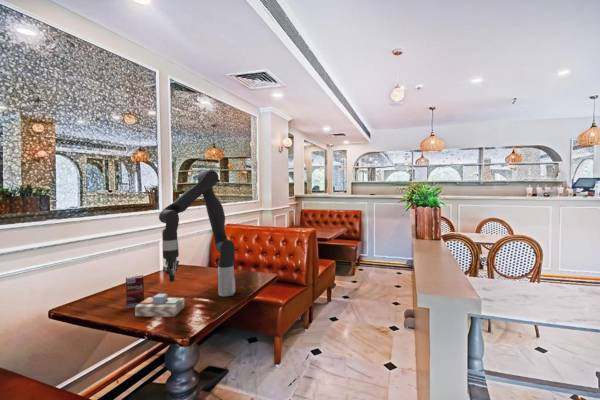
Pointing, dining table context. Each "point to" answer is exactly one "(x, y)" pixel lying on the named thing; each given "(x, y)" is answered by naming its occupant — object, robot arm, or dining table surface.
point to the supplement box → (134, 291)
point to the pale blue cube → (160, 299)
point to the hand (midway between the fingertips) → (172, 281)
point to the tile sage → (172, 301)
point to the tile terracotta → (147, 301)
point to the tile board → (159, 309)
